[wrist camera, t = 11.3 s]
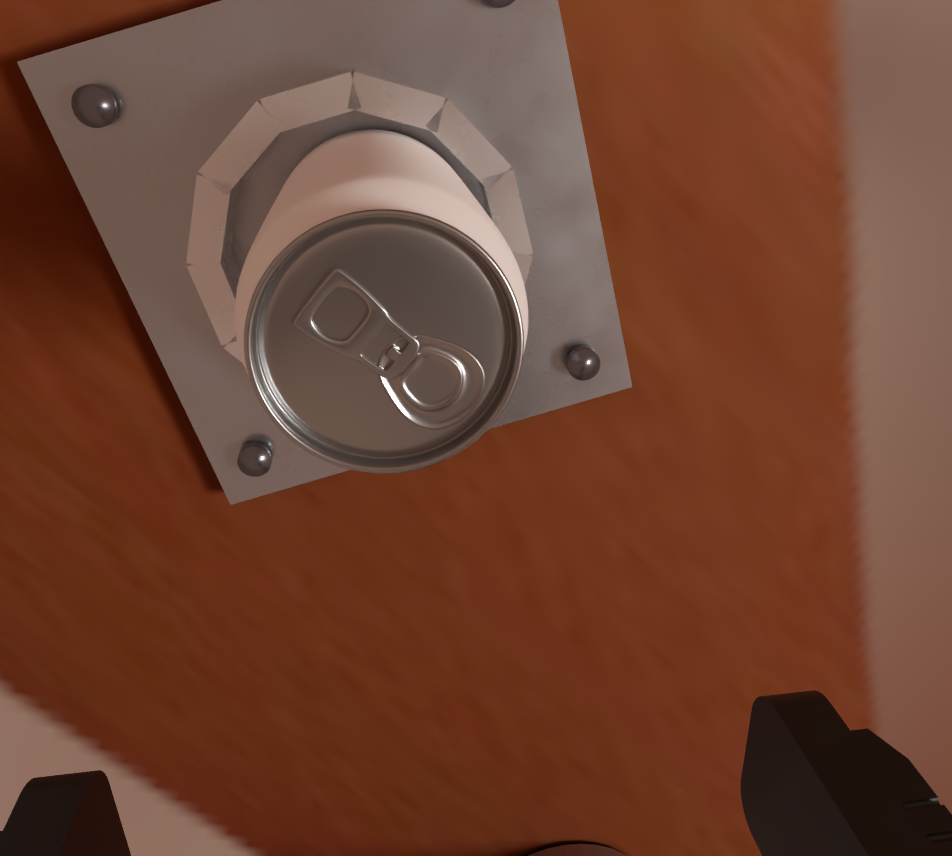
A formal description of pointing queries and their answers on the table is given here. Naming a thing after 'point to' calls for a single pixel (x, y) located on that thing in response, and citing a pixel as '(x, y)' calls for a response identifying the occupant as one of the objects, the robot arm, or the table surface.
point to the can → (380, 307)
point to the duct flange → (294, 136)
